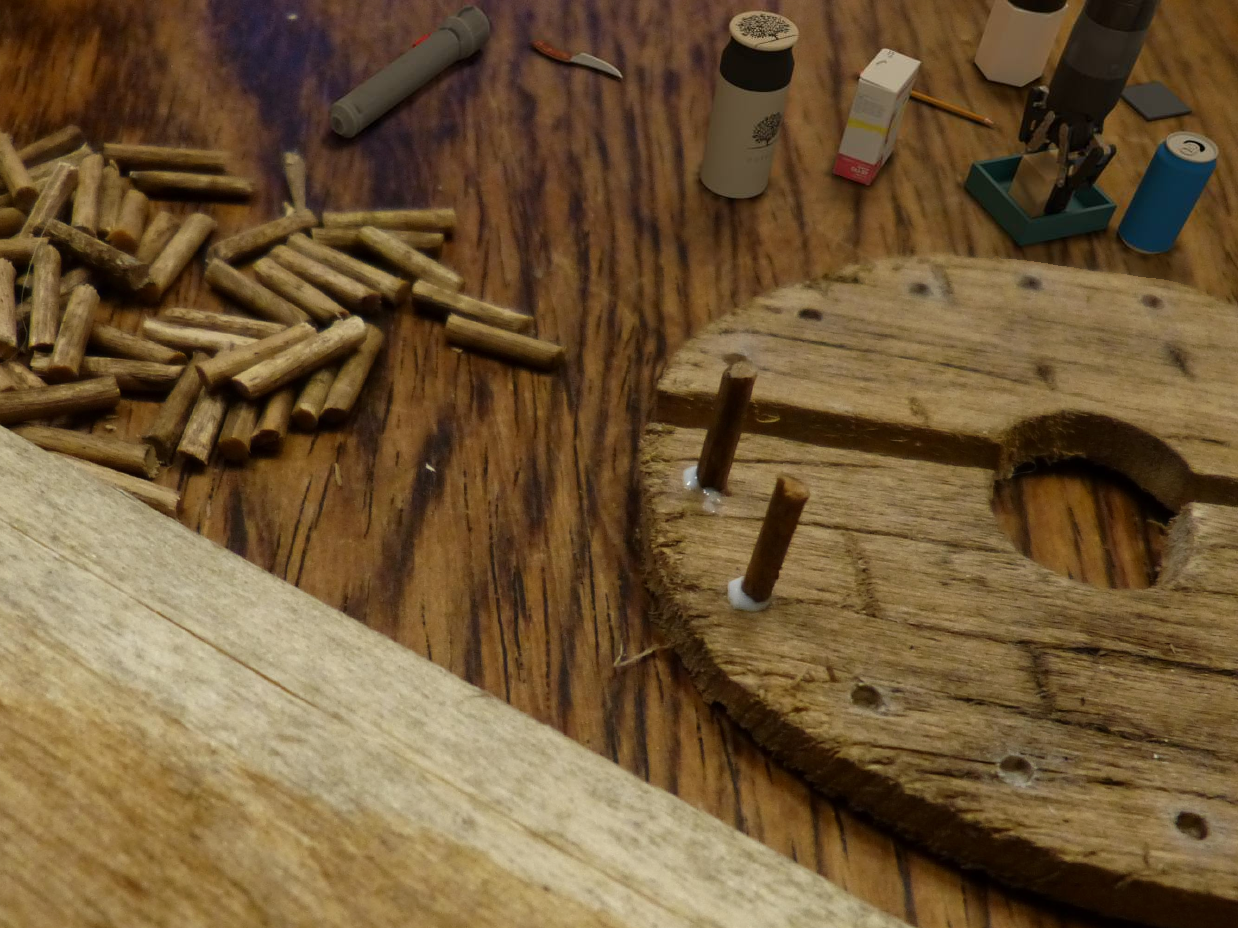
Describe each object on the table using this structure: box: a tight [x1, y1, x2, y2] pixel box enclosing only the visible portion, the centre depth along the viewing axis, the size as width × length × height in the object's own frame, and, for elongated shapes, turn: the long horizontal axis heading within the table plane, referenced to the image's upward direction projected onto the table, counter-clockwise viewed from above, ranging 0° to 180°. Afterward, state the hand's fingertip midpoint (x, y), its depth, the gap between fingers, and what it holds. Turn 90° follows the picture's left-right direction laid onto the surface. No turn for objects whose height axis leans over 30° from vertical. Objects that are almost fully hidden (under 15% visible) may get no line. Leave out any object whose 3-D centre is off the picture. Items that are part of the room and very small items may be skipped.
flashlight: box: [328, 5, 491, 139], centre depth 154 cm, size 5×28×5 cm
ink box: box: [832, 48, 922, 186], centre depth 149 cm, size 9×5×12 cm, turn 151°
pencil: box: [857, 70, 996, 125], centre depth 162 cm, size 19×1×1 cm, turn 58°
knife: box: [532, 39, 624, 79], centre depth 162 cm, size 13×1×3 cm
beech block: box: [1008, 149, 1075, 218], centre depth 148 cm, size 5×5×5 cm
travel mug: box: [700, 10, 800, 199], centre depth 142 cm, size 8×8×18 cm
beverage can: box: [1117, 131, 1219, 255], centre depth 143 cm, size 6×6×12 cm
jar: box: [973, 0, 1069, 88], centre depth 163 cm, size 9×8×12 cm
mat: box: [1120, 81, 1193, 121], centre depth 166 cm, size 7×7×1 cm
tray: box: [963, 146, 1118, 247], centre depth 149 cm, size 12×12×3 cm
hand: (1038, 197), depth 150 cm, fingers closed on beech block, 5 cm apart
